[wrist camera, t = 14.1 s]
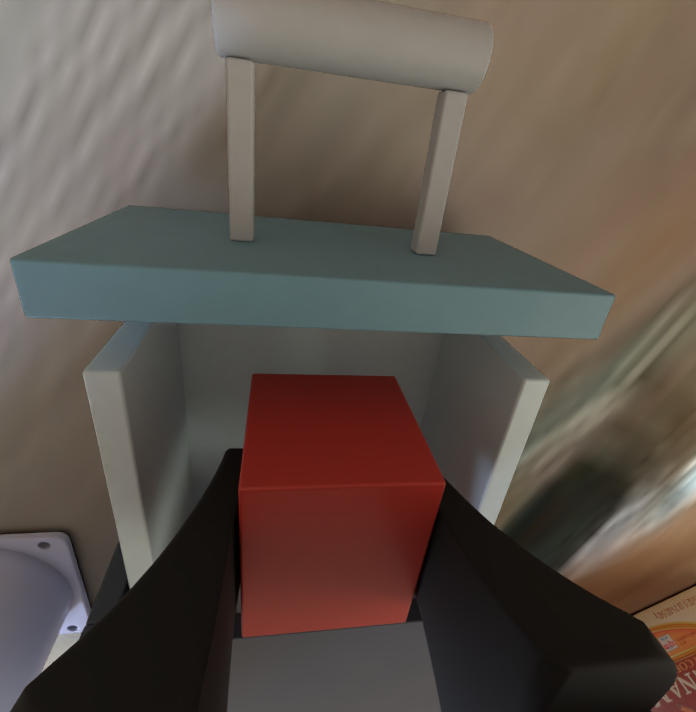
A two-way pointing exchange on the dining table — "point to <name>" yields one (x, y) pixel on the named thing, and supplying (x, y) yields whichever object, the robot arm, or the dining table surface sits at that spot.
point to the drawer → (306, 287)
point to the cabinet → (316, 663)
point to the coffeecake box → (676, 647)
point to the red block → (332, 503)
